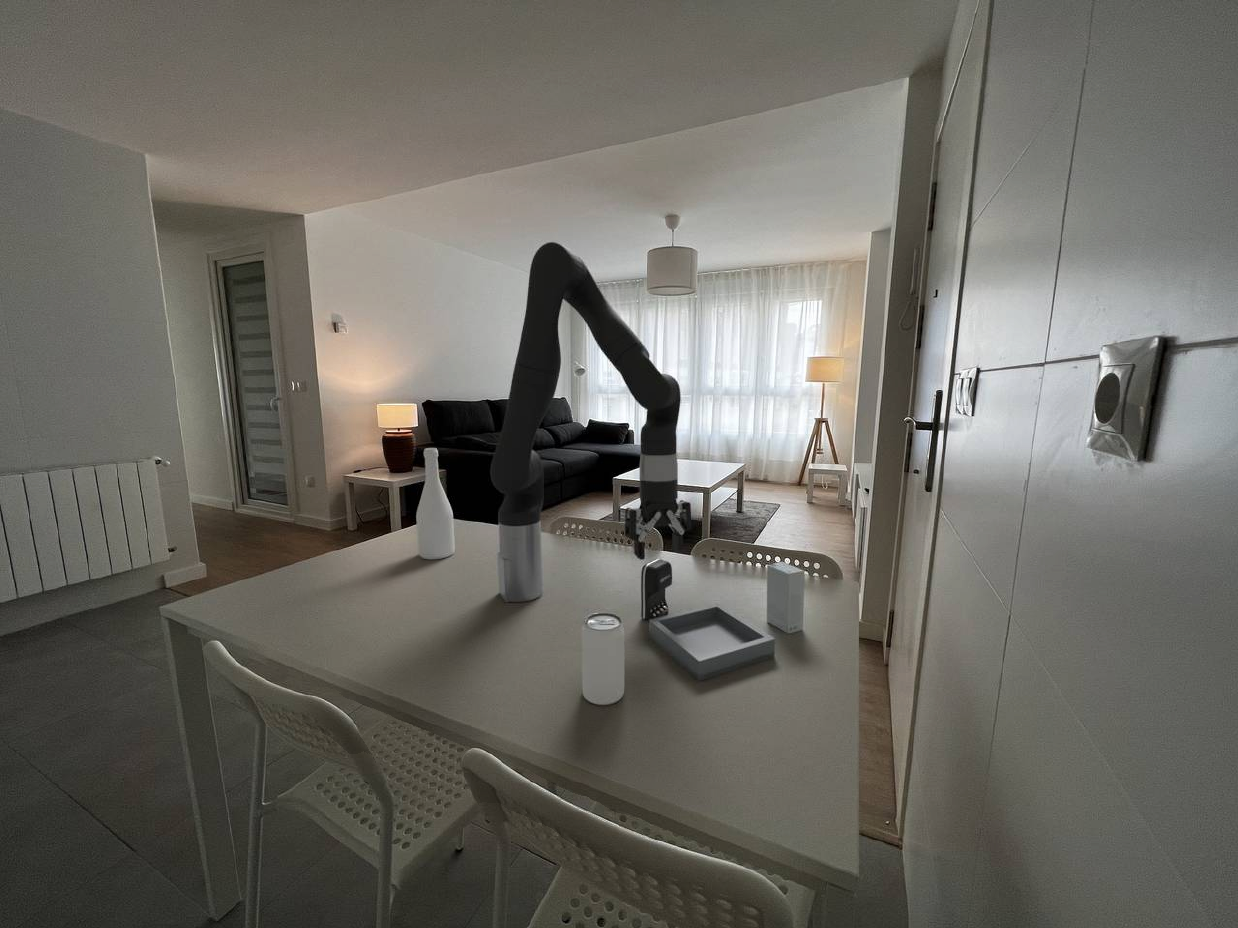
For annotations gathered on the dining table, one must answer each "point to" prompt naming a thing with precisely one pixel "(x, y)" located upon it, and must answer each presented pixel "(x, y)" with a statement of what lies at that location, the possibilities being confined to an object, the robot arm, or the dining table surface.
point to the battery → (655, 588)
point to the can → (603, 659)
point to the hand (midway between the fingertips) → (658, 554)
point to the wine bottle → (434, 514)
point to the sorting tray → (711, 640)
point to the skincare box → (785, 597)
